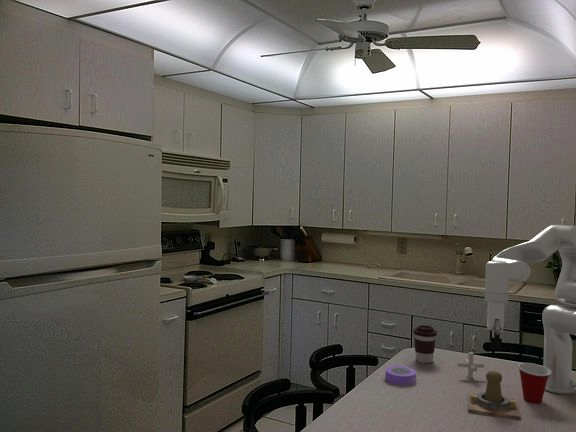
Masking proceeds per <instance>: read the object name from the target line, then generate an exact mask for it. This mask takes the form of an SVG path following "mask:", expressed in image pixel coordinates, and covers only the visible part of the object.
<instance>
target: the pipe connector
mask: <svg viewBox="0 0 576 432" xmlns="http://www.w3.org/2000/svg"><path fill="white" fill-rule="evenodd" d="M484 363H485V362H484ZM484 363H483V362H474V352H473V351H471V352H470V351H469V352H468V358H465V359H464V361H463V362H457V367H458V368H467V378H468V379H473V377H474V374H473V373H476V372H477V371H478V368H482V369H483V368H485V364H484Z"/></svg>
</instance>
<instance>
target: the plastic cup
mask: <svg viewBox="0 0 576 432" xmlns="http://www.w3.org/2000/svg"><path fill="white" fill-rule="evenodd" d="M517 368H518V370H519V377H520V384H521V390H522V396H523V400H524V402H527V403H531V404H536V405H538V404H541V403H542V401H543V398H544V394H545V391H546V390H545V387H546V383H547V380H548V377H549V375H551V371H550V370H549V369H548V368H546V367H544V366H543V365H540V364H536V363H534V362H533V363H532V362H521V363H518V364H517Z"/></svg>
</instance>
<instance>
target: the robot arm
mask: <svg viewBox="0 0 576 432" xmlns="http://www.w3.org/2000/svg"><path fill="white" fill-rule="evenodd" d="M557 251H558V252H559V256H560V258H561V264H562V265H561V269H560V270H561V271H560V274H559V277H558V279H557V282H556V285H555V290H554V298H555V300H557V301H558V302H560V303H561V304H565V305H571V306H575V307H576V225H566V224H552V225H549V226H547V227H546V228H545V229H543V230H542V231H541V232H539V233H538V234H537V235H536V236H534V237H532V239H530V240H529V241H526V242H523V243H519V244H517V245H513V246H511V247H508V248H506V249H504V250H502V251H500V252H499V253H498V254H497V255H495V256H494V257H493V258H492V259H491V260H490V261H487V262H486V264H485V275H484V276H485V278H484V281H485V283H484V284H485V285H484V301H486V302H487V307H486V308H487V311H486V313H487V314H486V328H487V331H489V342H490V343H491V344H490V346H491V350H496V351H502V348H503V347H502V346H503V343H502V342H503V338H502V332H504V327H505V326H504V324H505V304H507V303H509V290H510V289H509V287H510V282H514V283H522V282H525V281H526V280H528V279H529V278H530V276H531V272H532V269H531V267H530V265H529V264H533V263H539V262H543V261H546V260H547V259H548V258H549V257H551V256H552V255H553V254H554V253H556V252H557ZM541 317H542V318H541V319H542V324H543V331H544V332H543V333H544V335H543V336H544V338H543V340H544V343H543V345H544V346H543V364H542V366H544V367H546V368H548V369H549V370H550V371H551V375H549V377H548V380H547V383H546V387H545V391H547V392H551V393H554V394H560V395H561V394H563V395H570V394H574V393H575V392H576V379H573V378H572V370H573V369H572V367H573V363H572V362H573V341H572V337H571V336H570V335H573V336H576V308H574V307H569V306H563V305H560V304H559V305H558V304H551V305H548V306H546V307H545V308H544V309H543V311H542V316H541Z"/></svg>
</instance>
